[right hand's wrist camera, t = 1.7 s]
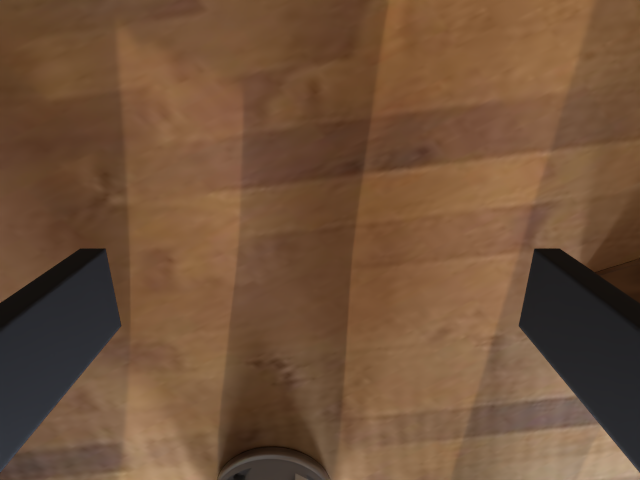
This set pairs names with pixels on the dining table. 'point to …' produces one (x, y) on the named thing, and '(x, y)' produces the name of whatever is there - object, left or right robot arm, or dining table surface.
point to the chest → (624, 278)
